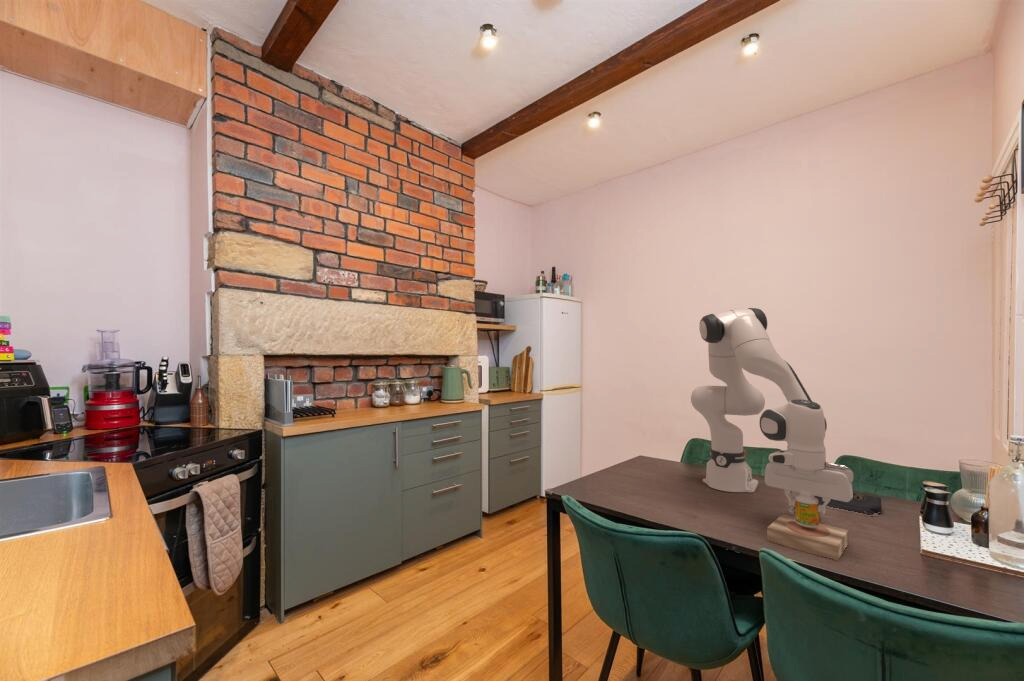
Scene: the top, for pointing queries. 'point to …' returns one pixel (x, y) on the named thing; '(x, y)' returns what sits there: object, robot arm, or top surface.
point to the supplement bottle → (806, 509)
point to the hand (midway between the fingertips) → (806, 509)
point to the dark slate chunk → (856, 504)
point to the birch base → (808, 537)
